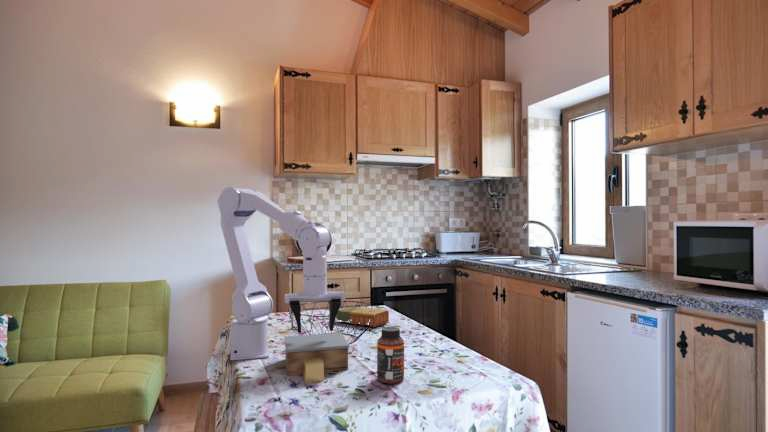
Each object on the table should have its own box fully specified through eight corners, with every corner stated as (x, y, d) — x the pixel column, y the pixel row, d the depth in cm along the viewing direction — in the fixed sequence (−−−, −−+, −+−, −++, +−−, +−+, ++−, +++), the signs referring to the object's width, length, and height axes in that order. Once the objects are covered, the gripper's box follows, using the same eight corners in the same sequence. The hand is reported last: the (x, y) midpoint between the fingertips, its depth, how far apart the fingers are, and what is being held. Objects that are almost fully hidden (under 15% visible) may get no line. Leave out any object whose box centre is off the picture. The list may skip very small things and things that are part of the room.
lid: (286, 352, 103) (286, 350, 103) (284, 338, 115) (284, 336, 115) (349, 347, 106) (348, 345, 106) (340, 334, 118) (340, 332, 118)
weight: (305, 383, 98) (305, 365, 98) (303, 376, 102) (303, 358, 102) (324, 381, 99) (323, 363, 99) (320, 374, 104) (320, 357, 104)
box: (287, 375, 103) (287, 353, 103) (285, 358, 115) (285, 339, 115) (348, 369, 106) (347, 348, 106) (340, 354, 118) (340, 335, 118)
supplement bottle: (395, 386, 96) (395, 333, 96) (372, 381, 99) (371, 329, 99) (409, 378, 101) (408, 327, 101) (386, 373, 104) (386, 324, 104)
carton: (374, 327, 144) (374, 314, 144) (336, 322, 153) (335, 309, 153) (389, 322, 151) (388, 309, 151) (351, 317, 160) (350, 305, 160)
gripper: (285, 278, 105) (285, 337, 105) (347, 276, 108) (347, 332, 108) (284, 274, 112) (284, 329, 112) (342, 272, 115) (342, 326, 115)
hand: (315, 330), depth 111 cm, fingers open, 7 cm apart
